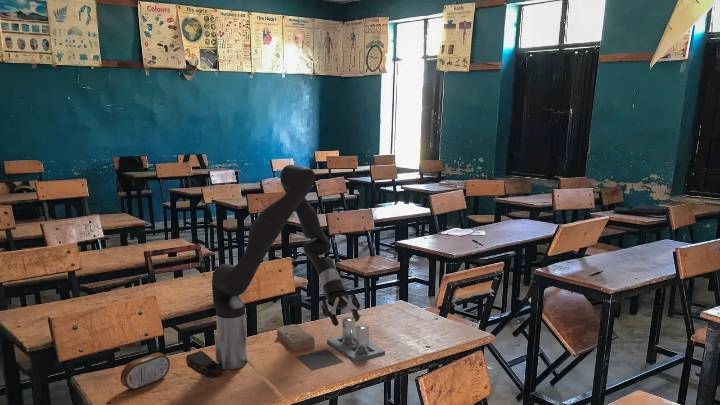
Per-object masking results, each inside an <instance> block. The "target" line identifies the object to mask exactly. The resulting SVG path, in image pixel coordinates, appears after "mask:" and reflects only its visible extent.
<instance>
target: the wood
mask: <svg viewBox="0 0 720 405" xmlns="http://www.w3.org/2000/svg"><path fill="white" fill-rule="evenodd" d="M186 359H187V360H188V361H189V362H188V363H187V366H188V367H189V368H190V369H192V370H193V371H194V372H196V373H199V374H201V375H202V376H204V377H205V378H210V379H211V378H218V377H220V376H221V375H222V371H223V370H222V369H223V367H222V366H221V365H219V364H217V363H216V360H213V359H212V357H210V356H209V355H208V354H207V353H205V352H204V351H203V350H199V351H196V352H193V353H189V354H187V356H186Z"/></svg>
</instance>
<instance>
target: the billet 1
mask: <svg viewBox="0 0 720 405" xmlns="http://www.w3.org/2000/svg"><path fill="white" fill-rule="evenodd" d="M341 333H342V334H341V336H342V341H341V343H342V344H344V345H345V346H347V345H351V344H355V343H356V341H355V333H356V322H355V318H354V317H353V316H352V317H351V316H346V317H343V318H342V319H341Z"/></svg>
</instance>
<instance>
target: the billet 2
mask: <svg viewBox="0 0 720 405" xmlns="http://www.w3.org/2000/svg"><path fill="white" fill-rule="evenodd" d="M355 333H356V341H355V343H356V350H355V353H357V354H358V355H362V354H366V353H370V350H369V341H370V327H369V325H365V324H359V325H355Z"/></svg>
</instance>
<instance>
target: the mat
mask: <svg viewBox="0 0 720 405" xmlns="http://www.w3.org/2000/svg"><path fill="white" fill-rule="evenodd" d="M295 358H296V359H297V360H298V361H299V362H301V363H302V364H303V365H305V367H307V369H309V370H310V371H312V372H313V371H315V370H319V369H323V368H327V367H330V366H334V365H337V364H342V363H345V361H343V360H342V359H341V358H340V357H338V356H337V355H336V354H334V353H333V352H331V351H330V350H329V349H327V348H325V349H321V350H316V351H313V352H309V353H305V354H301V355H296V356H295Z"/></svg>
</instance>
